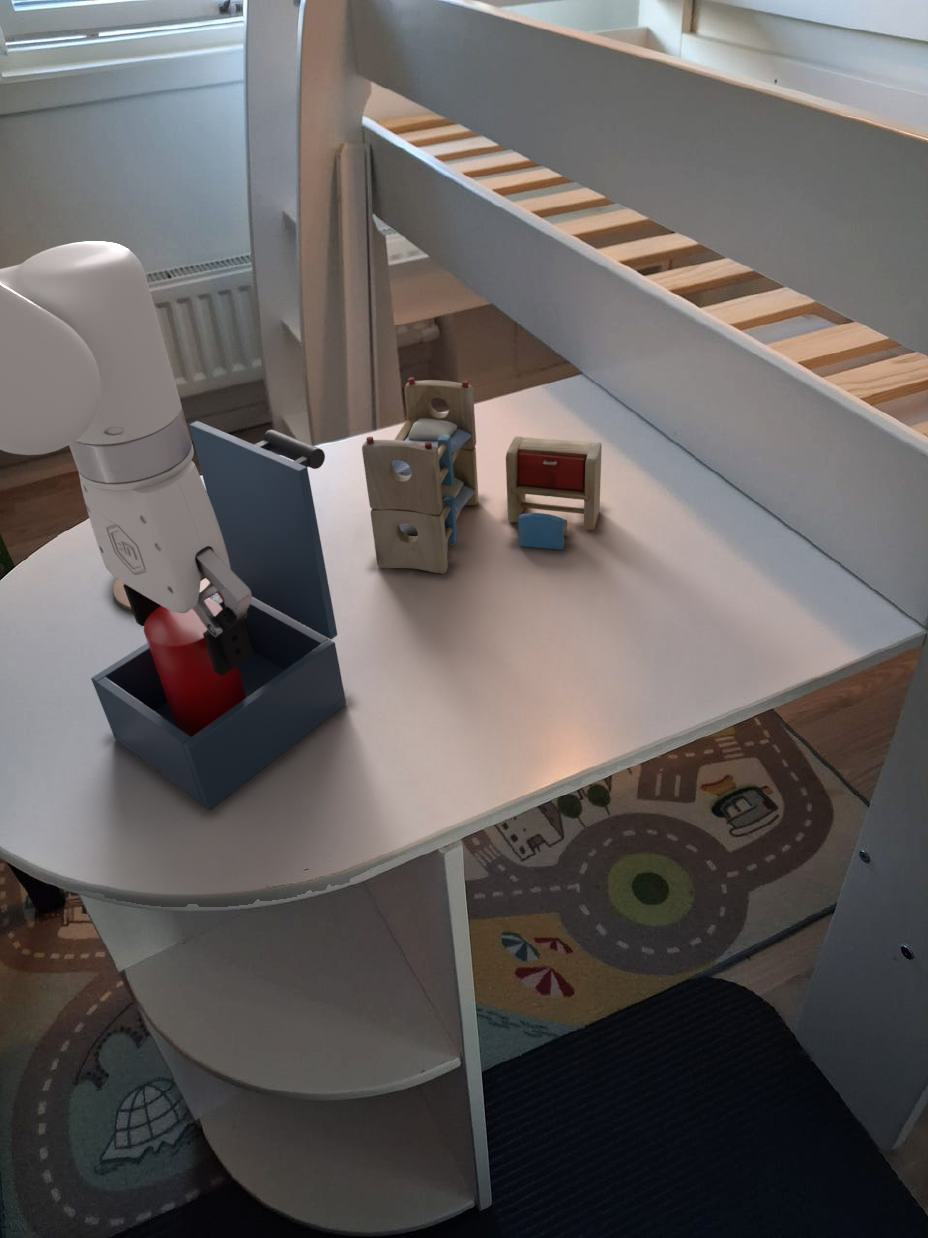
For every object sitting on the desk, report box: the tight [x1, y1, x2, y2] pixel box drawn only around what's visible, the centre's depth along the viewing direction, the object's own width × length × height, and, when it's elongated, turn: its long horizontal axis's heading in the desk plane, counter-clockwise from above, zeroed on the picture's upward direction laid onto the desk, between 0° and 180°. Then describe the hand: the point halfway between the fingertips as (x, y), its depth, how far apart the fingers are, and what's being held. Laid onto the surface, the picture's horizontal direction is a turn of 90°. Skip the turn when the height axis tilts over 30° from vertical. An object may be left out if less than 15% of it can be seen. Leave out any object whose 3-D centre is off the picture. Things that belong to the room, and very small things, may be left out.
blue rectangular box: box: [90, 596, 347, 811], centre depth 81 cm, size 15×13×7 cm
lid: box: [189, 420, 338, 641], centre depth 79 cm, size 15×13×5 cm
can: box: [143, 597, 247, 737], centre depth 78 cm, size 6×6×11 cm
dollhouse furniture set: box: [361, 377, 603, 575], centre depth 97 cm, size 14×20×14 cm
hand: (194, 639), depth 76 cm, fingers open, 9 cm apart
